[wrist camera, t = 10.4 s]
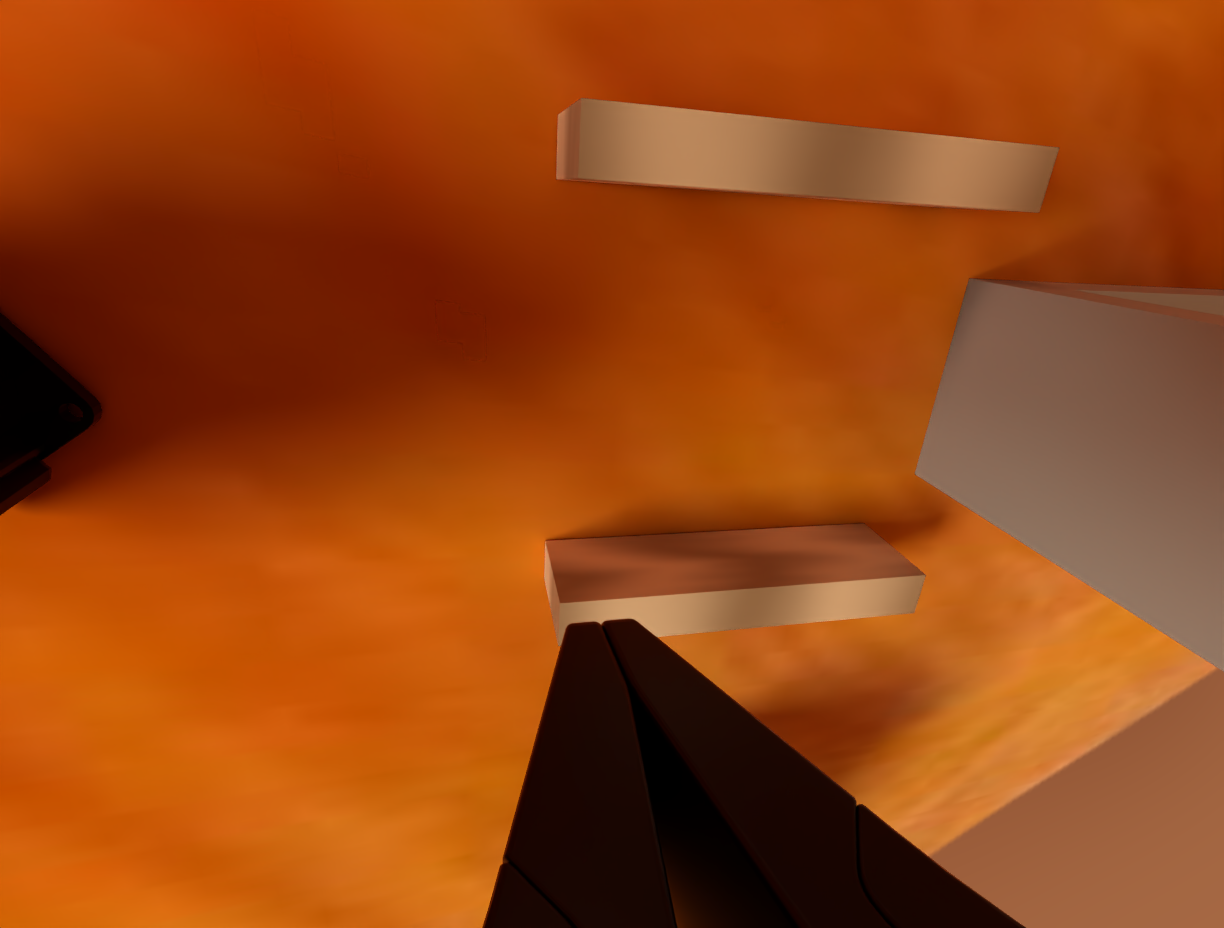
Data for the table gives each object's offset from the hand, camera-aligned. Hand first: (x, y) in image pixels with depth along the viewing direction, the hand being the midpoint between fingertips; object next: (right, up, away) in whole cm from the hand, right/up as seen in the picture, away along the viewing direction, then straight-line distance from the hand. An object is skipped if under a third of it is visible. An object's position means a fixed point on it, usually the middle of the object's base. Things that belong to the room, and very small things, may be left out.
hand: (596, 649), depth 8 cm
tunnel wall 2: (+5, +11, +10) cm, 15 cm away
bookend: (+18, +5, +16) cm, 25 cm away
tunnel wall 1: (+4, -1, +15) cm, 15 cm away
